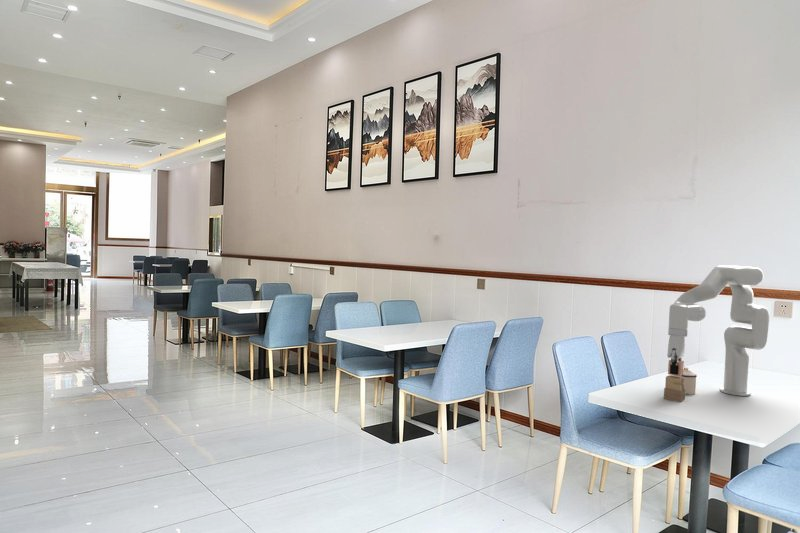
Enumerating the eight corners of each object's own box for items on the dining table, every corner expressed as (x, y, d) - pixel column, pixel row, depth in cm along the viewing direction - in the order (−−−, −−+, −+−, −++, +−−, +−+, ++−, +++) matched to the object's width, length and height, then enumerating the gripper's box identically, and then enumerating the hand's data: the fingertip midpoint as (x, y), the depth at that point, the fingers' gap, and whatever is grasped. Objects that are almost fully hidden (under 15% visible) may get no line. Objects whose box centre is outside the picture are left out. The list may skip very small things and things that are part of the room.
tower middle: (669, 386, 248) (670, 374, 248) (683, 388, 244) (684, 377, 244) (665, 388, 244) (665, 376, 244) (679, 390, 240) (680, 379, 240)
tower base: (667, 396, 249) (668, 385, 249) (684, 399, 245) (685, 388, 245) (663, 399, 244) (664, 388, 244) (681, 402, 239) (681, 391, 239)
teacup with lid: (697, 392, 259) (698, 367, 259) (693, 396, 252) (695, 370, 251) (669, 388, 266) (670, 363, 266) (665, 391, 259) (666, 366, 259)
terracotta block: (670, 372, 248) (671, 359, 247) (683, 374, 244) (683, 361, 244) (667, 374, 244) (668, 360, 244) (680, 376, 241) (681, 362, 240)
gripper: (673, 329, 253) (671, 369, 253) (663, 332, 239) (661, 374, 240) (691, 331, 248) (689, 371, 248) (682, 335, 235) (680, 377, 235)
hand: (675, 372), depth 244 cm, fingers closed on terracotta block, 5 cm apart
